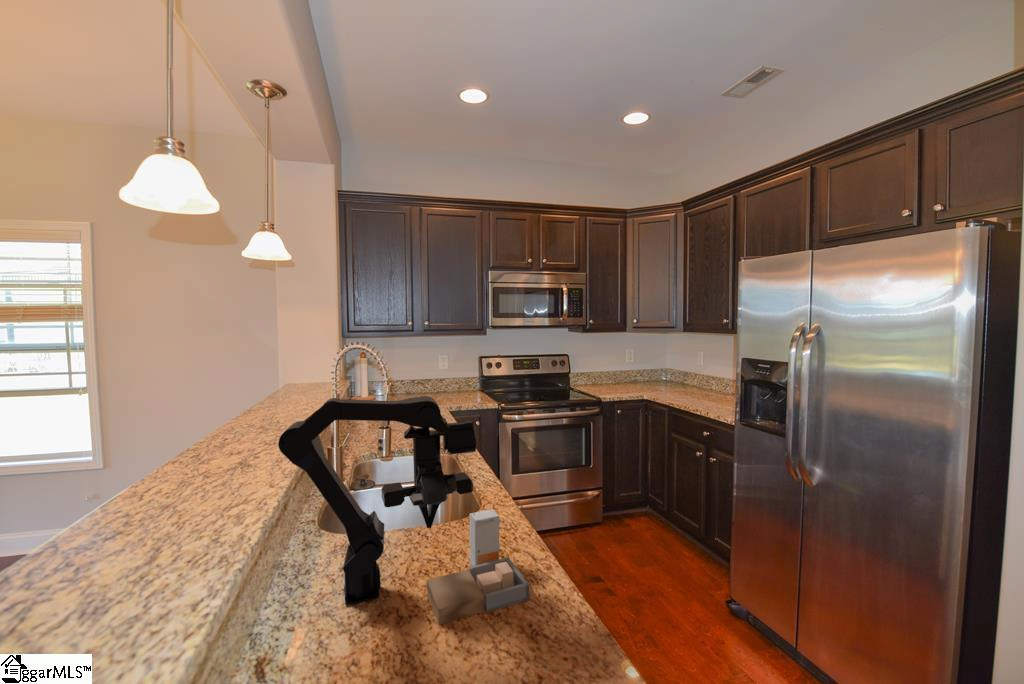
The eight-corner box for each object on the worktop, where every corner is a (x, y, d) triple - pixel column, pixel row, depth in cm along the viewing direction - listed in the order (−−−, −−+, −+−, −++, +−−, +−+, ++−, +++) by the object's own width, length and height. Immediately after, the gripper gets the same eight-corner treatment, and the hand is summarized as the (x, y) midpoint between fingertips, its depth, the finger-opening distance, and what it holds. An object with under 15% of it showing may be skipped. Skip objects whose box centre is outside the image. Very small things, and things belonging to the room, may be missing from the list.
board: (438, 625, 80) (438, 609, 80) (427, 593, 89) (426, 579, 89) (484, 611, 84) (484, 596, 84) (468, 582, 93) (468, 569, 93)
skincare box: (475, 573, 97) (474, 520, 96) (469, 563, 101) (468, 513, 100) (500, 566, 99) (499, 515, 98) (493, 557, 103) (493, 508, 102)
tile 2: (502, 574, 88) (513, 571, 89) (495, 564, 92) (506, 561, 93) (502, 593, 88) (513, 590, 89) (495, 582, 92) (506, 579, 93)
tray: (486, 612, 84) (486, 596, 83) (469, 581, 94) (469, 566, 93) (529, 599, 87) (529, 584, 87) (508, 571, 97) (508, 557, 97)
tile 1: (482, 597, 87) (482, 585, 87) (476, 586, 91) (476, 575, 91) (501, 592, 89) (501, 581, 88) (494, 582, 92) (494, 570, 92)
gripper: (386, 475, 81) (389, 556, 82) (480, 461, 89) (482, 535, 89) (380, 458, 91) (382, 530, 92) (464, 446, 99) (466, 513, 100)
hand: (428, 527), depth 93 cm, fingers closed
